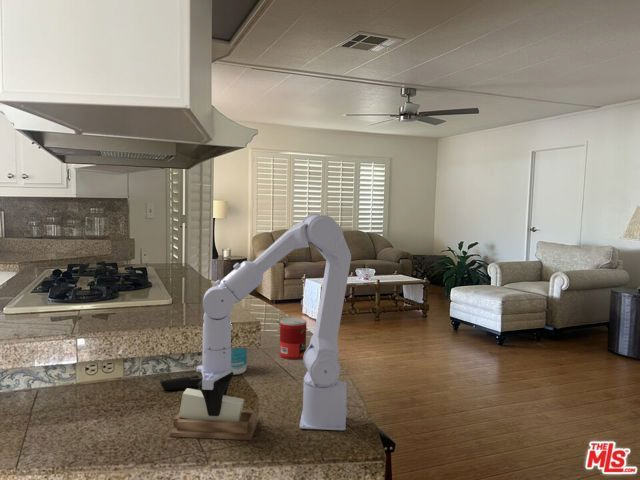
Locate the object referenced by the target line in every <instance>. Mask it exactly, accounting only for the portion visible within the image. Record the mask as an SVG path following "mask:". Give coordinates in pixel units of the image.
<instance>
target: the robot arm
mask: <svg viewBox="0 0 640 480" xmlns="http://www.w3.org/2000/svg"><path fill="white" fill-rule="evenodd" d="M309 244H310V245H312V246H313V247H315V248H316V249H317V250H318V252H319V254H321V256H322V257H323V259H325V262H326V263H325V268H324V274H323V279H322V283H321V284H322V285H321V292H320V296H319V302H318V303H319V304H318V308H317V314H316V320H315V327H314V332H313V334H312V336H311V337H310V339H309V341H310V342H309V345H308V347H306V351H305V353H304V356H303V358H302V362H303V365H304V367H305V368H306V370H307V371H306V373H305V375H304V377H303V386H302V392H303V393H302V394H303V395H302V411H301V417H300V421H299V429H302V430H303V429H305V430H326V431H327V430H329V431H346V429H347V428H346V424H347V423H346V422H347V418H348V408H347V395H348V394H347V392H348V391H347V390H348V389H347V382H346V381H341V380H339V377H340V375H341V366H340V364H339V353H340V351H339V350H340V349H339V343H338V342H339V341H338V336H339V330H340V324H341V319H342V313H343V308H344V303H345V296H346V292H347V291H346V290H347V285H348V279H349V272H350V267H351V261H352V254H351V251H350V249H349V246H348V243H347V240H346V238H345V236H344V232H343V228H342V227H341V225H339V223H338V222H336V220H335V219H333V217H331V216H329V215H325V214H322V215H321V214H316V213H313V214H309V215H308V216H306V217H304V219H303V220H302V221H299V222H297V223H295V224H294V225H293V226H292V227H290V228H288V229H287V230H286V231H285V232H284V233H283V234H282V235H280V237H278V239H276V240H275V241H274V242H273V243H272V244H271V245H270V246H269V247H268V248H267V249H265V250H264V251H263V252H262V253H260V255H259V256H258V257H257V258H255V259H254V260H250V261H249V260H244V261H242V262H241V263H239V262H236V263H235V264H234V265H233V270H231V271H230V272H229V273H227V274H226V276H224V277H223V278H222V279H221V280H220V279H218V280H216V281H215V283H214V284H215V285H216V286H212V287H210V288H208V289H207V290H206V291H205V293H204V295H203V298H202V309H203V311H204V313H203V317H202V318H203V324H202V354H201V355H202V356H201V357H202V359H201V361H202V363H201V365H197V367H196V370H195V371H196V372H198V373H199V372H200V373H201V375H202V377H203V379H202V380H200V382H199V383H198V386H197V387H198V390H200V391H201V392H202V394H203V396H204V399H205V403H206V407H207V412H208V415H209V416H219V414H220V410H221V405H222V398H223V395H226V396H227V394H228V393H227V392H228V389H229V386H230V383H231V381H232V379H233V376H234V375H233V372H232V366H231V330H232V324H231V322H230V321H231V313H232V312H233V308H234V304H238V303H240V302H241V301H242V300H244V298H246V297H247V296H248V295H249V294H251V293H252V292H253V291H254V290H255V289H256V288H257V287H259V286H260V285H261V284H262V283H263V281H264V273H265V272H267V271H269V270H270V269H271V268H272V267H274V266H275V265H276V264H277V263H278V262H280V261H281V260H282V259H284V258H285V257H286V256H288V254H290V253H291V252H293V250H297V249H306V248H310V245H309Z"/></svg>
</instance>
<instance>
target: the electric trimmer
mask: <svg viewBox="0 0 640 480" xmlns="http://www.w3.org/2000/svg"><path fill="white" fill-rule="evenodd" d="M202 379H203V377H202V374H201V375H193V376H192V375H191V376H185V377H184V376H183V377H178V378H171V379H164V380H159V383H160V385H161V387H162V389H163V390H164V391H171V390H172V391H176V390H186V389H187V388H189V389H193V388H195V387H196V388H197V387H199V386H198V383H199V382H200V380H202Z"/></svg>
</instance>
